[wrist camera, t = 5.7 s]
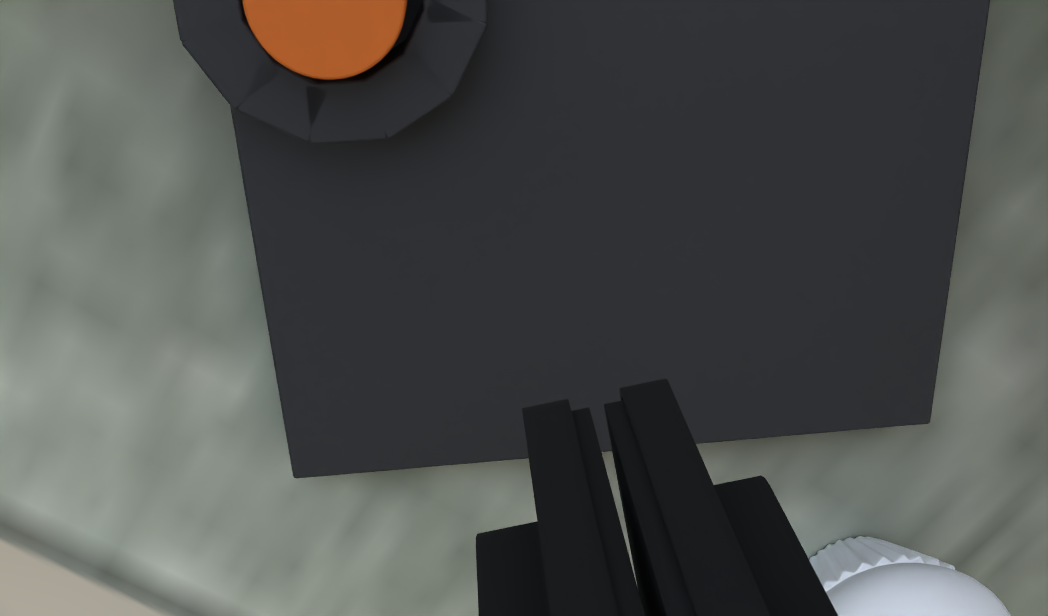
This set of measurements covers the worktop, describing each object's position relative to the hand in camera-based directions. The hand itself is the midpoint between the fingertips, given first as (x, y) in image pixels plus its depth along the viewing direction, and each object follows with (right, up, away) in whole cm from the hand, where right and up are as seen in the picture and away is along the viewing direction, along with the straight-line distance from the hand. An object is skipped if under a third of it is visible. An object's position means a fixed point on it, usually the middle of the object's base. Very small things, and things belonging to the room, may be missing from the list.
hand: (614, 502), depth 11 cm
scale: (+1, +6, +12) cm, 13 cm away
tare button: (-5, +8, +7) cm, 12 cm away
